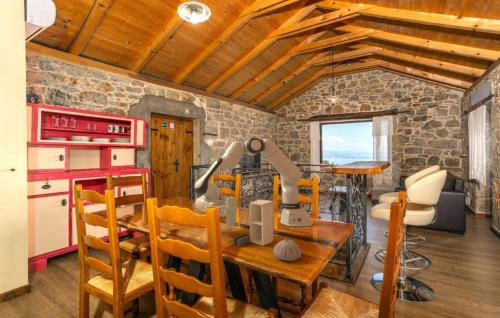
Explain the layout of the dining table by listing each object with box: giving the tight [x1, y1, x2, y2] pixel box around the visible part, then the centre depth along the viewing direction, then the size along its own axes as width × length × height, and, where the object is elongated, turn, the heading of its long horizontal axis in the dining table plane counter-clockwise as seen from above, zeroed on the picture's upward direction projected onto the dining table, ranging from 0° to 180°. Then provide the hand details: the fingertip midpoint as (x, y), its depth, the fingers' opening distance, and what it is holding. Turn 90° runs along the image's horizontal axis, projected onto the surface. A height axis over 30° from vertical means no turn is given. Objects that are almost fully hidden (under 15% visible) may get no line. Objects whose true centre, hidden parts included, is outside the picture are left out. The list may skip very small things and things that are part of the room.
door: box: [225, 196, 237, 228], centre depth 144 cm, size 3×6×16 cm, turn 139°
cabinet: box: [232, 199, 275, 247], centre depth 138 cm, size 14×19×22 cm
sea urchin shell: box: [272, 239, 302, 262], centre depth 119 cm, size 13×14×8 cm
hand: (231, 210), depth 143 cm, fingers closed on door, 6 cm apart
